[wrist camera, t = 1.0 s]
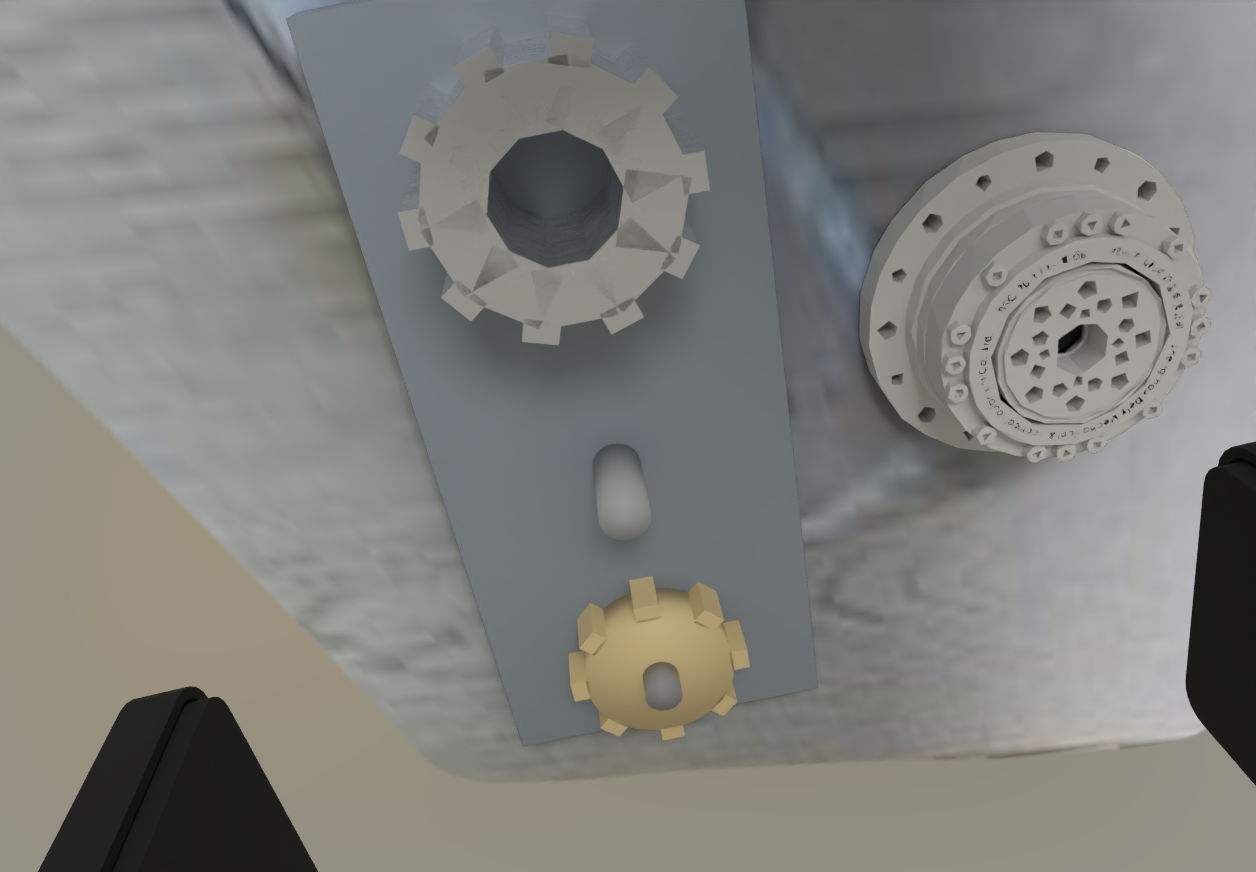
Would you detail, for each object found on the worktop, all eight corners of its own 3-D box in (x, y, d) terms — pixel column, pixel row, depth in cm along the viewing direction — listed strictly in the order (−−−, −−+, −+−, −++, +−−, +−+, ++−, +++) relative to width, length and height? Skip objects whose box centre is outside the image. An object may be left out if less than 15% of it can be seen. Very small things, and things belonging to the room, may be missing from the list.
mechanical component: (1145, 407, 33) (1192, 104, 28) (1227, 474, 29) (1298, 137, 24) (857, 452, 33) (853, 156, 28) (900, 525, 29) (905, 197, 24)
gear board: (298, 12, 24) (255, 33, 21) (725, -75, 24) (764, -70, 20) (523, 716, 37) (522, 813, 33) (807, 659, 37) (841, 750, 33)
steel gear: (380, 47, 24) (355, 72, 20) (661, -10, 24) (685, 5, 20) (455, 307, 27) (444, 368, 24) (700, 258, 27) (726, 311, 24)
